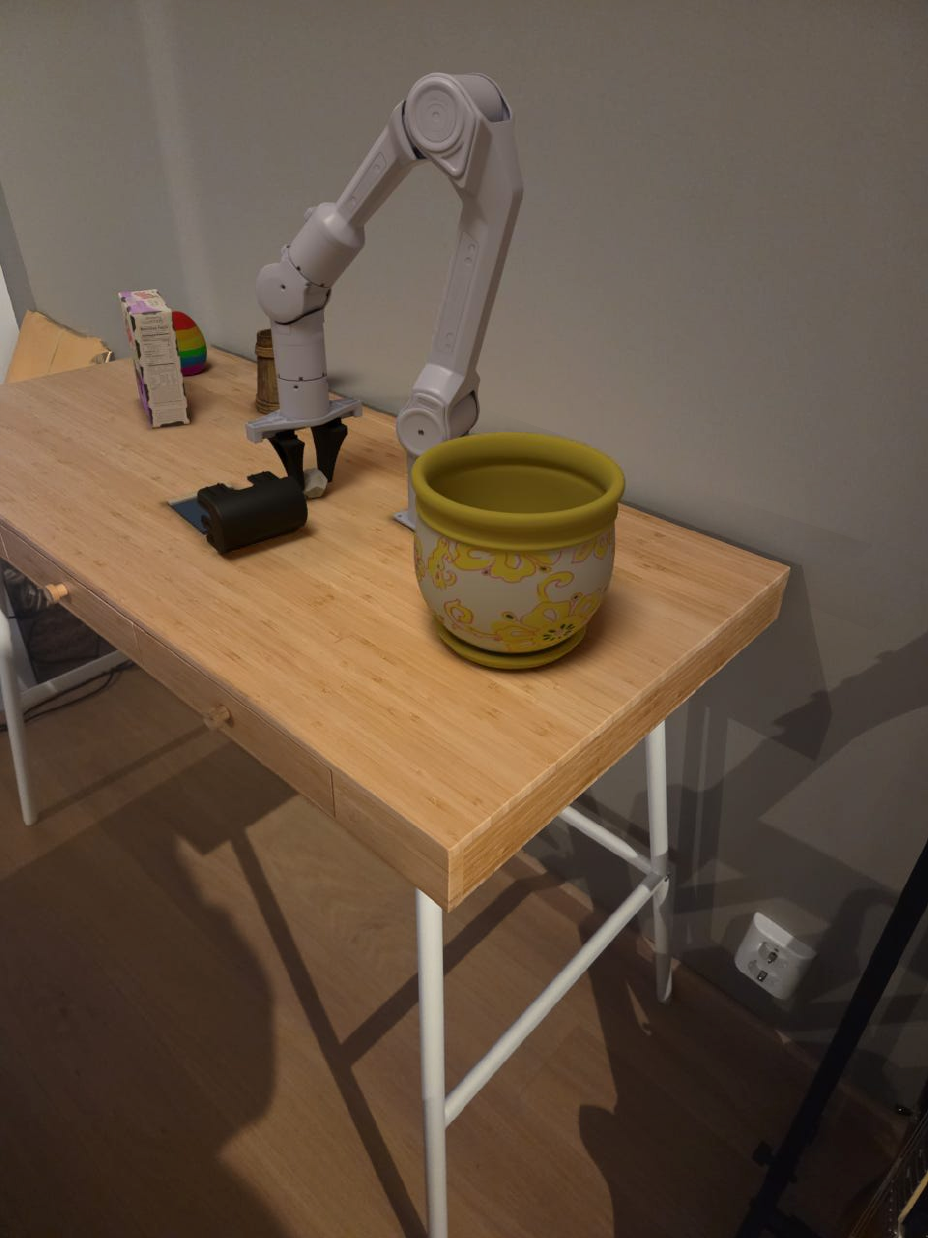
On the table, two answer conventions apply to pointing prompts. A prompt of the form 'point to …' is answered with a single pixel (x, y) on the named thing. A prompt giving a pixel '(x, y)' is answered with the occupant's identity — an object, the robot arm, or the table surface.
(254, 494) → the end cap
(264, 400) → the wooden mug
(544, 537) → the flowerpot
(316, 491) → the game die
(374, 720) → the table surface
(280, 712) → the table surface
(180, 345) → the decorative egg
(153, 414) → the candy box
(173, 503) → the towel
